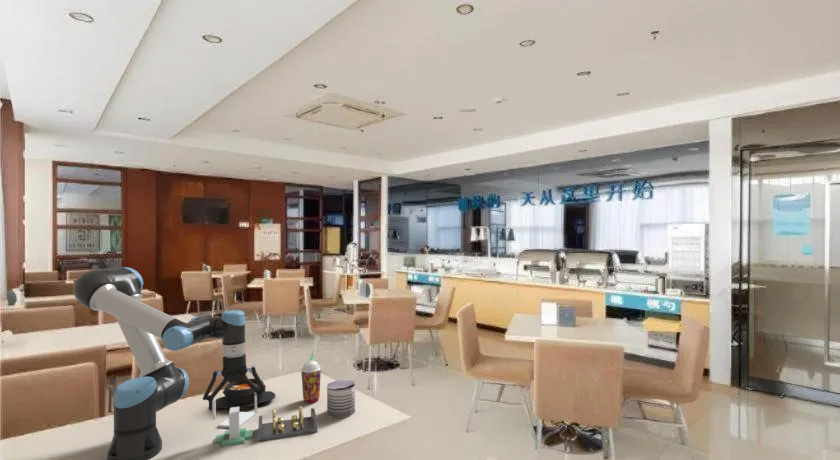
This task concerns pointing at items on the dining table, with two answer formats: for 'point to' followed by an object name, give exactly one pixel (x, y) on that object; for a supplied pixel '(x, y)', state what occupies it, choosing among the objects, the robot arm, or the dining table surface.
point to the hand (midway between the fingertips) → (235, 415)
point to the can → (341, 398)
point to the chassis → (287, 426)
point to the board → (234, 441)
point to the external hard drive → (243, 419)
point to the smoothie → (311, 380)
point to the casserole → (242, 395)
